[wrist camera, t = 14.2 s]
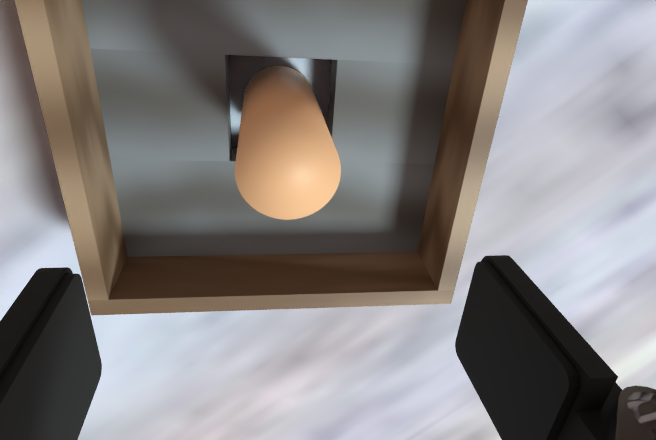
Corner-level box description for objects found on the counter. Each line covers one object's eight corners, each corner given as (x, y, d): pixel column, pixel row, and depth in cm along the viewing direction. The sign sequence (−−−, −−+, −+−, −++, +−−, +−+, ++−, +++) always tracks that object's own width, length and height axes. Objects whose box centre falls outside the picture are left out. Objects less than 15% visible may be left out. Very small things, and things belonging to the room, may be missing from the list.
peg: (312, 136, 27) (336, 219, 18) (244, 135, 27) (236, 220, 18) (316, 67, 25) (345, 123, 17) (242, 64, 25) (232, 120, 16)
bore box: (420, 248, 32) (451, 303, 27) (121, 252, 29) (91, 315, 24) (487, -95, 22) (555, -111, 17) (48, -138, 20) (-28, -173, 14)
